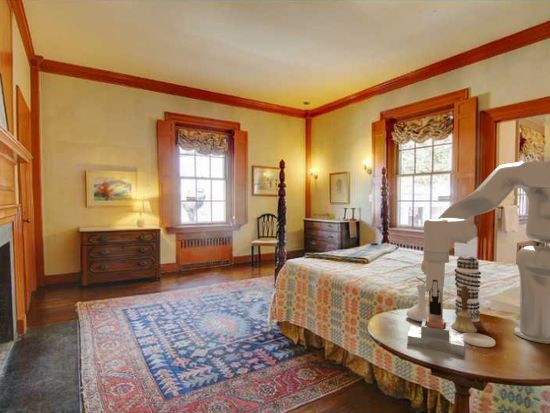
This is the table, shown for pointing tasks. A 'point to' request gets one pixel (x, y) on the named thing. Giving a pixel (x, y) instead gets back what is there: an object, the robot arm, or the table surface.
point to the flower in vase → (420, 300)
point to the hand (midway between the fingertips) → (435, 311)
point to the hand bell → (464, 315)
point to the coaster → (478, 340)
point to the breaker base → (436, 338)
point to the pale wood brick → (440, 317)
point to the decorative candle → (468, 285)
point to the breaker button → (435, 324)
